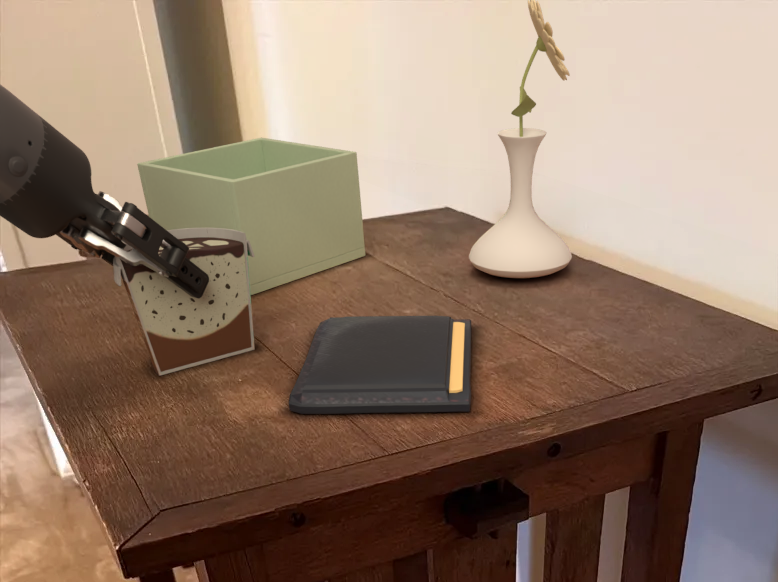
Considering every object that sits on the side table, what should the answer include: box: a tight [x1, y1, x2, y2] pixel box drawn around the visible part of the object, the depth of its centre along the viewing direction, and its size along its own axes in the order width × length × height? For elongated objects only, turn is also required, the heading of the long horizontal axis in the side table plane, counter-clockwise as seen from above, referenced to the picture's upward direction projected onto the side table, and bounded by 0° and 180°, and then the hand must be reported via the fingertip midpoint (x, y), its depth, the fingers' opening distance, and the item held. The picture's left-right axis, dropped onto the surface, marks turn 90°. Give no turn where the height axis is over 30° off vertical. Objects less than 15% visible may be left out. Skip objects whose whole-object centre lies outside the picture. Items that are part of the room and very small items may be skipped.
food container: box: [112, 228, 256, 377], centre depth 81 cm, size 12×6×10 cm, turn 130°
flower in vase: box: [468, 0, 573, 279], centre depth 95 cm, size 13×11×25 cm
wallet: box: [288, 315, 472, 415], centre depth 80 cm, size 20×2×15 cm
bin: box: [136, 137, 366, 296], centre depth 103 cm, size 16×18×11 cm
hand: (171, 279), depth 79 cm, fingers open, 8 cm apart
